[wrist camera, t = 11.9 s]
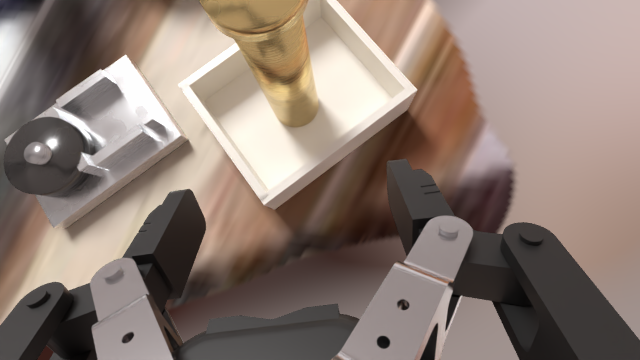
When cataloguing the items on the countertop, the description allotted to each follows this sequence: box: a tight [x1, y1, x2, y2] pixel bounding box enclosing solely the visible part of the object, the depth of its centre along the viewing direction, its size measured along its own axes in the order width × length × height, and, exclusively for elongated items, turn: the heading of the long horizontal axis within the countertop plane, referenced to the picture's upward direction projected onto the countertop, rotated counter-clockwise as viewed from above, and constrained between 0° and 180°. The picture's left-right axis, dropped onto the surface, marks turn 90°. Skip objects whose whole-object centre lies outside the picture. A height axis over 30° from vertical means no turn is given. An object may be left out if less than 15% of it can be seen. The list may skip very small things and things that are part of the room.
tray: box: [178, 0, 417, 210], centre depth 25 cm, size 13×11×4 cm
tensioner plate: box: [4, 55, 188, 228], centre depth 26 cm, size 12×9×3 cm
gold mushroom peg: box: [199, 0, 319, 128], centre depth 19 cm, size 5×5×13 cm
